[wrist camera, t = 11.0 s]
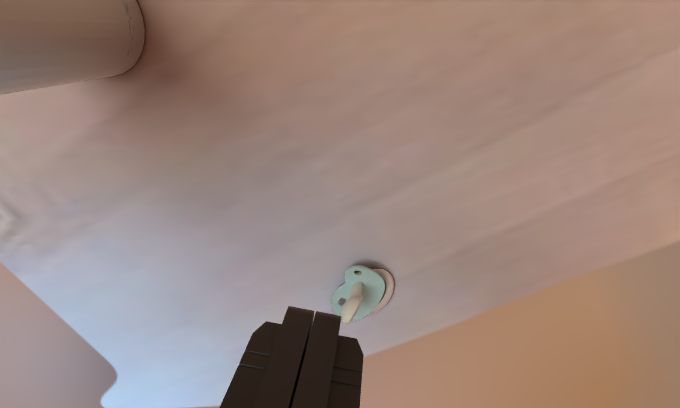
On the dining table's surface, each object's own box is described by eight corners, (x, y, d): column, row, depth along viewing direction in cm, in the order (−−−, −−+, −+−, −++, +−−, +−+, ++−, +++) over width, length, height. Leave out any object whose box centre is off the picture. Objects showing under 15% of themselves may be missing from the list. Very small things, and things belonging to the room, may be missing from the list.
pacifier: (404, 271, 42) (353, 250, 41) (409, 309, 36) (350, 286, 36) (375, 318, 45) (327, 299, 44) (375, 361, 39) (320, 340, 39)
